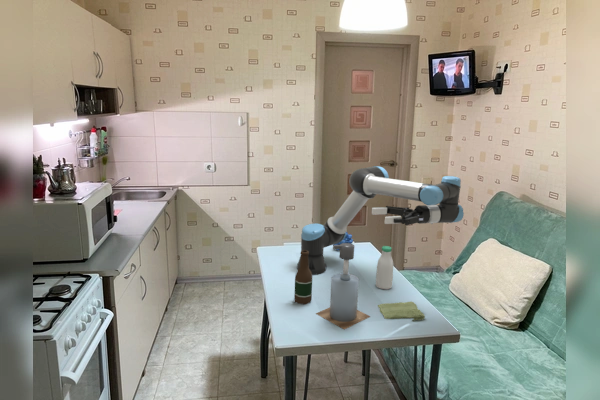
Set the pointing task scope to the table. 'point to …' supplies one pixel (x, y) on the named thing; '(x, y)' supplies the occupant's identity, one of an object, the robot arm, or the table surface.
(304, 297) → the beer bottle
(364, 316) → the walnut board
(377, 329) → the table surface
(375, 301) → the table surface
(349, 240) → the grapes
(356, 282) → the soap dispenser
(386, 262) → the milk bottle
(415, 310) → the washcloth
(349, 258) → the pump plunger
